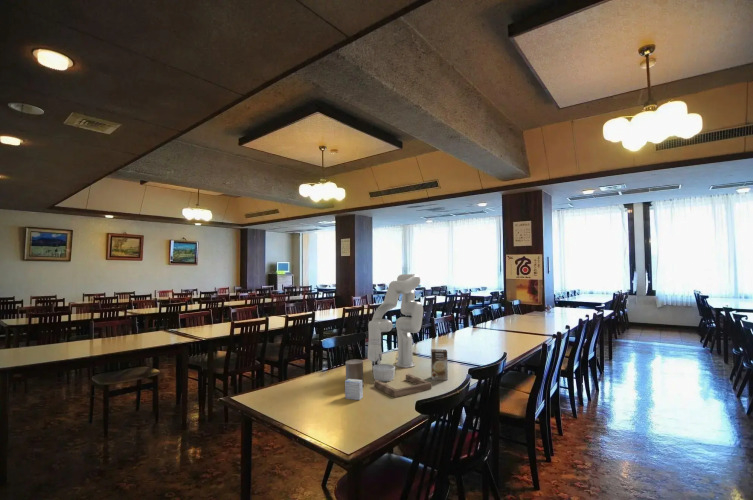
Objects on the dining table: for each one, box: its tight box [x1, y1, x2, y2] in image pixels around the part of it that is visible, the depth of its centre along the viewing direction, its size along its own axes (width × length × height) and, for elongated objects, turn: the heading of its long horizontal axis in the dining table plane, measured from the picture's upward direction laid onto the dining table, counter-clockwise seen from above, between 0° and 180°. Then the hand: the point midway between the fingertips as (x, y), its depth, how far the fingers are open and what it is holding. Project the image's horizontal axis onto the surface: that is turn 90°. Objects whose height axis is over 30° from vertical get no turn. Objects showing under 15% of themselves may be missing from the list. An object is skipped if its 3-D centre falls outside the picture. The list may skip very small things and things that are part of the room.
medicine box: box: [344, 379, 364, 401], centre depth 177 cm, size 8×4×9 cm, turn 71°
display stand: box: [373, 373, 432, 398], centre depth 192 cm, size 20×23×3 cm
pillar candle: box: [344, 358, 365, 388], centre depth 194 cm, size 10×10×15 cm
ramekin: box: [372, 363, 396, 383], centre depth 208 cm, size 13×13×7 cm
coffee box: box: [430, 348, 449, 381], centre depth 207 cm, size 9×6×16 cm
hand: (375, 372), depth 216 cm, fingers closed
